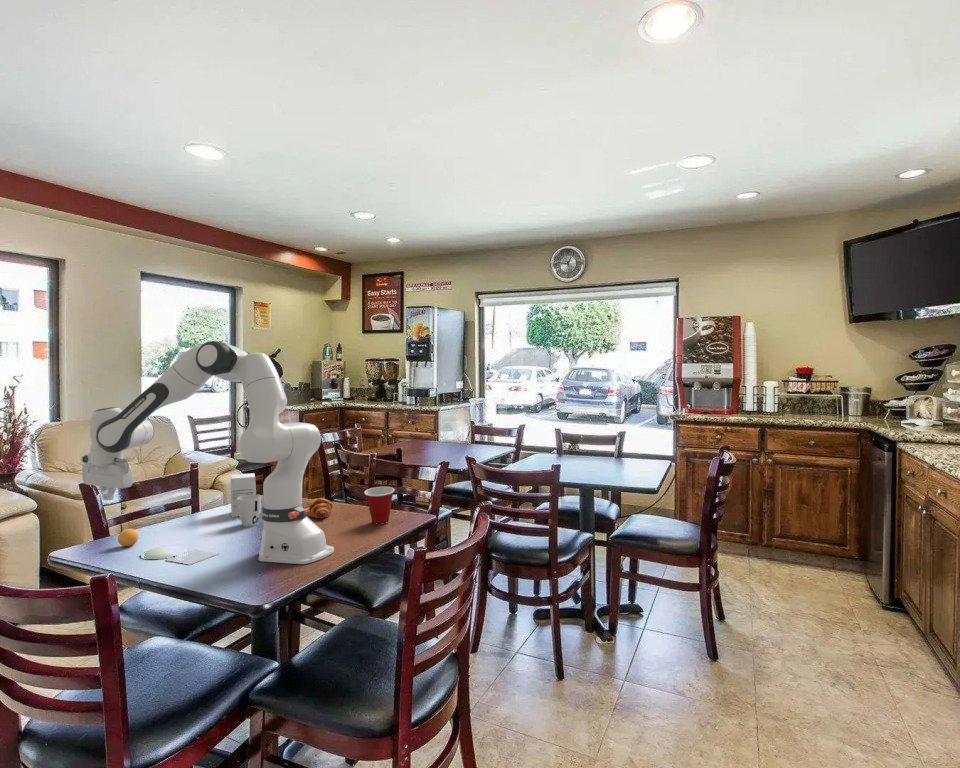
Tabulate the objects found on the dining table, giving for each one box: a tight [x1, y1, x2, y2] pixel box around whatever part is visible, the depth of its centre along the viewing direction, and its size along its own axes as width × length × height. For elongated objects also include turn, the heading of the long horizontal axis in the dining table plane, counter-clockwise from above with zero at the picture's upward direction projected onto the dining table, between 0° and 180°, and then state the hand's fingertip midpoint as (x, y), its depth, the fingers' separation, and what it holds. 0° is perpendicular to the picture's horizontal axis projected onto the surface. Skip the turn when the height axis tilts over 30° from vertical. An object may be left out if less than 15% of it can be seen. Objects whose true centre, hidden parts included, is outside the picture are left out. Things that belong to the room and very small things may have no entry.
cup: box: [237, 494, 263, 528], centre depth 195 cm, size 8×8×10 cm
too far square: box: [166, 549, 219, 566], centre depth 160 cm, size 10×10×1 cm
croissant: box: [304, 497, 333, 519], centre depth 209 cm, size 21×10×8 cm, turn 27°
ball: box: [117, 528, 139, 547], centre depth 172 cm, size 6×6×6 cm
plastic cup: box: [364, 486, 395, 525], centre depth 195 cm, size 11×11×12 cm
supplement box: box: [230, 472, 257, 518], centre depth 211 cm, size 9×9×15 cm
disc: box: [144, 546, 188, 560], centre depth 165 cm, size 13×13×1 cm
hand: (108, 499), depth 176 cm, fingers closed
